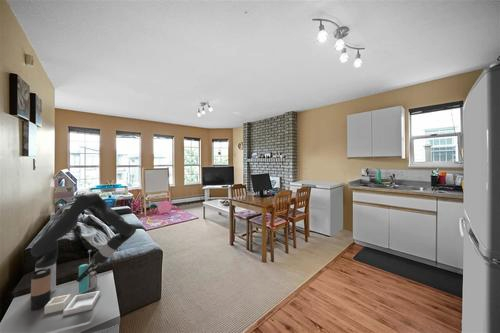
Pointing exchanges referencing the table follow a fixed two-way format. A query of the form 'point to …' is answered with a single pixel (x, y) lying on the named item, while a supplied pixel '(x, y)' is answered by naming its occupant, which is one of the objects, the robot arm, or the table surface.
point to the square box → (57, 304)
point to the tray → (81, 303)
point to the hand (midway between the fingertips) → (79, 279)
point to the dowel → (84, 282)
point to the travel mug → (40, 288)
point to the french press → (90, 277)
